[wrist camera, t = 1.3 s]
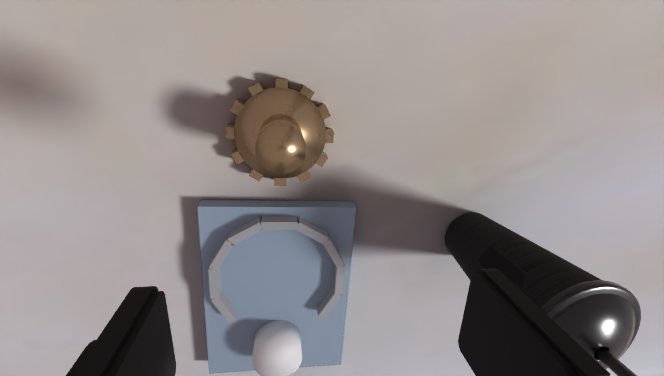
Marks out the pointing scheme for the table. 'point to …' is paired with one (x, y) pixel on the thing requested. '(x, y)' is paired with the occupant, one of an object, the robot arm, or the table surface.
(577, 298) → the drinking cup
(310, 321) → the carrier plate
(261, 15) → the table surface
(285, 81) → the bronze gear
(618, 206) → the table surface
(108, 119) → the table surface
